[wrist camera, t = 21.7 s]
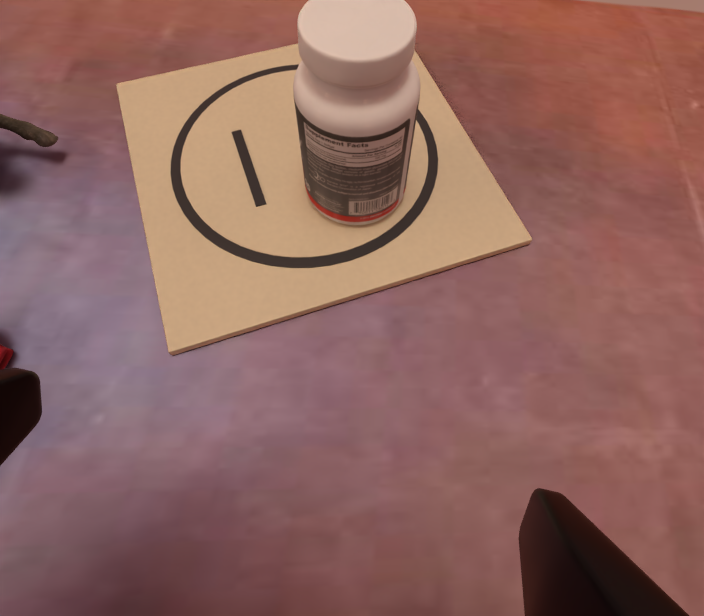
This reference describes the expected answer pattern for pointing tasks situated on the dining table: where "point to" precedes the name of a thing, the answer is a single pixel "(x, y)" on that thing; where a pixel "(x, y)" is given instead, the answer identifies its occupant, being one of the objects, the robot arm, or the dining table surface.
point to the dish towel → (5, 356)
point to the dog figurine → (28, 131)
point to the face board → (287, 201)
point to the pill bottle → (356, 105)
